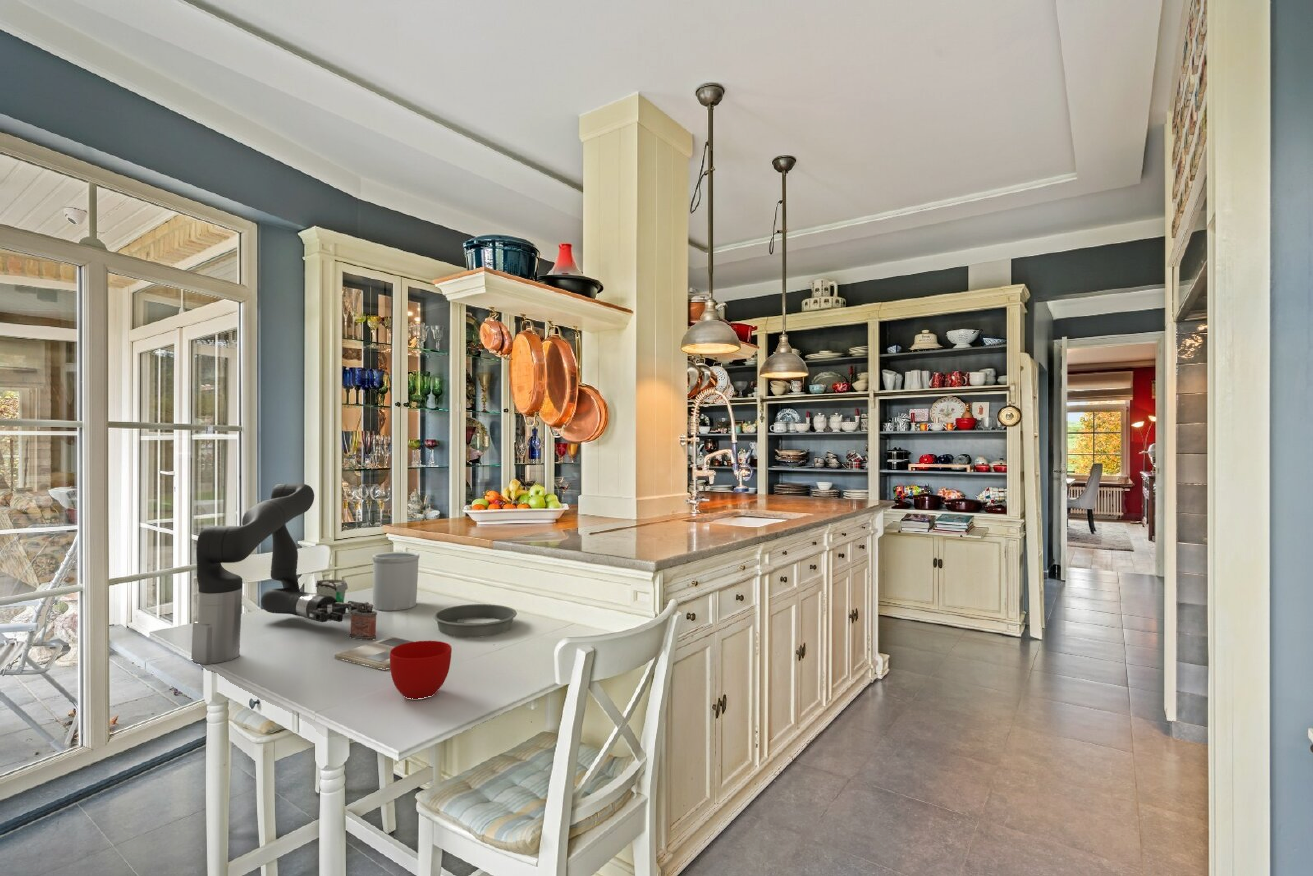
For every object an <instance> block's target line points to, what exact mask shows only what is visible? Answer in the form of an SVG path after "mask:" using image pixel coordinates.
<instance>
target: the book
mask: <svg viewBox="0 0 1313 876" xmlns="http://www.w3.org/2000/svg"><path fill="white" fill-rule="evenodd" d="M410 642H414V641H413V640H408V639H404V638H399V637H394V636H389V637H386V638H383V639H380V640H377V641H373V642H370V643H367V644H364V645H361V646H358V647H354V648H350V649H348V650H345V651H341V652H339V653H335V654H334V659H335V658H338V659H337V660H339V659H344V660H348V661H351V662H355V663H359V664H365V665H369V666H372V667H375V668H382V669H386V668H390V651H391V650H392V649H393V648H394V647H396V646H398V645H401V644H405V643H410ZM351 662H350V663H351ZM355 663H354V664H355ZM359 664H358V665H359ZM375 668H374V669H375Z"/></svg>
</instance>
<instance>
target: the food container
mask: <svg viewBox="0 0 1313 876" xmlns="http://www.w3.org/2000/svg"><path fill="white" fill-rule="evenodd" d="M315 587H316V594H322V595H327V596H332V597H334V598H335V599H336V600H337V602H342V603H345V595H346V591H347V590H348V589H349V587H348V584H347V581H346V580H343V579H319V580H317V581H316V584H315Z"/></svg>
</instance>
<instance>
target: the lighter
mask: <svg viewBox="0 0 1313 876" xmlns="http://www.w3.org/2000/svg"><path fill="white" fill-rule="evenodd" d="M353 607H358V608H357V609H356V610H351V613H350V614H351V615H350V633H349V638H350V637H351V638H350V639H352V638H355V639H354V640H358V639H362V640H361V641H374V640H373V639H375V640H376V639H377V635H376V631H377V630H376V627H377V615H378V612H377V611H376V610H373V609H374V608H373V603H372V604H371V603H369V602H367V601H365V602H360V601H359V602H358V601H354V603H353Z"/></svg>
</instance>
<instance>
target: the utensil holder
mask: <svg viewBox="0 0 1313 876" xmlns="http://www.w3.org/2000/svg"><path fill="white" fill-rule="evenodd" d="M371 559H372V562H373V564H372V566H373V567H372V604H373V609H375V610H377V611H387V612H388V611H389V612H390V611H391V612H392V611H403V610H407V609H412V608H413V607H416V605H417V596H418V595H417V594H418V579H419V578H418V577H419V559H420V553H419V552H416V551H390V552H379V553H374V554H373V555H372V558H371Z"/></svg>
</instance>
